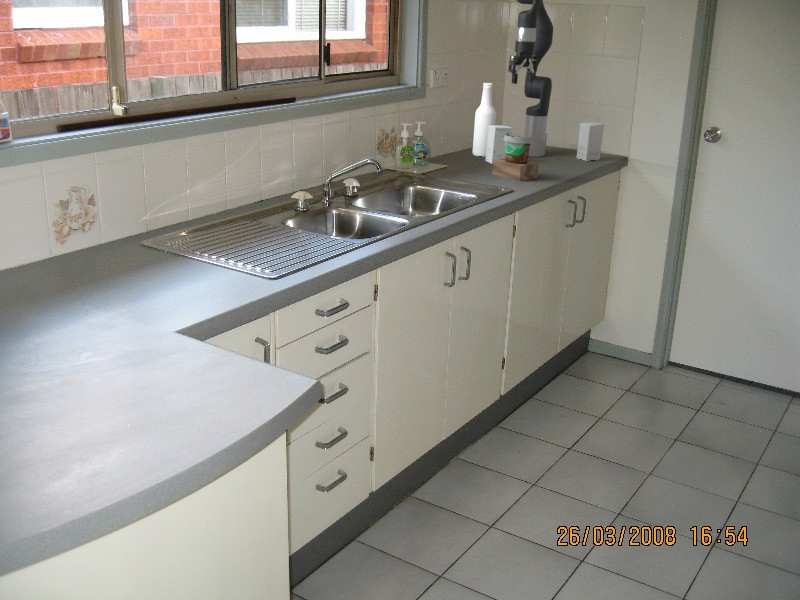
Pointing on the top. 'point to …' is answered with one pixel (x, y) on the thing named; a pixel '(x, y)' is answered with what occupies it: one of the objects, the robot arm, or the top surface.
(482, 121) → the alcohol
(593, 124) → the skincare box
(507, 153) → the food container
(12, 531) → the top surface
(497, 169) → the walnut block
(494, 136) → the skincare box
